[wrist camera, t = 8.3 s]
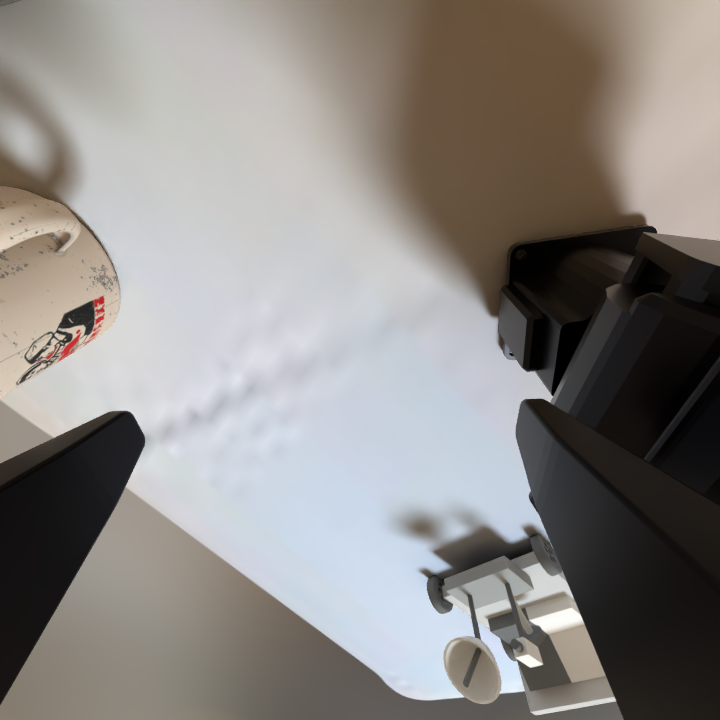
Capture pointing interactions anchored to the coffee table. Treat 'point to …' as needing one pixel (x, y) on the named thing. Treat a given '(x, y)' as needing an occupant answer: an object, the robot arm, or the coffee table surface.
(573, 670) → the toy rover
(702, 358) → the robot arm
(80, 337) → the teacup with lid
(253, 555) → the coffee table surface
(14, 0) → the tub
